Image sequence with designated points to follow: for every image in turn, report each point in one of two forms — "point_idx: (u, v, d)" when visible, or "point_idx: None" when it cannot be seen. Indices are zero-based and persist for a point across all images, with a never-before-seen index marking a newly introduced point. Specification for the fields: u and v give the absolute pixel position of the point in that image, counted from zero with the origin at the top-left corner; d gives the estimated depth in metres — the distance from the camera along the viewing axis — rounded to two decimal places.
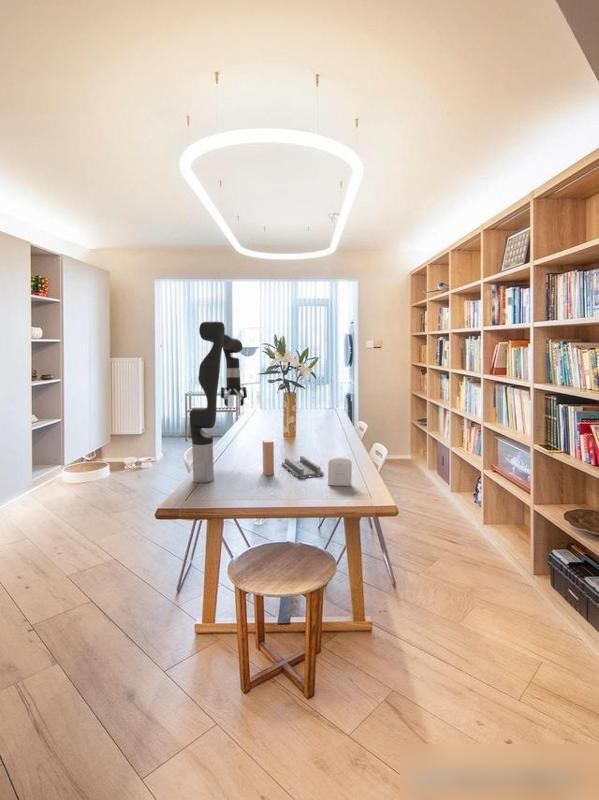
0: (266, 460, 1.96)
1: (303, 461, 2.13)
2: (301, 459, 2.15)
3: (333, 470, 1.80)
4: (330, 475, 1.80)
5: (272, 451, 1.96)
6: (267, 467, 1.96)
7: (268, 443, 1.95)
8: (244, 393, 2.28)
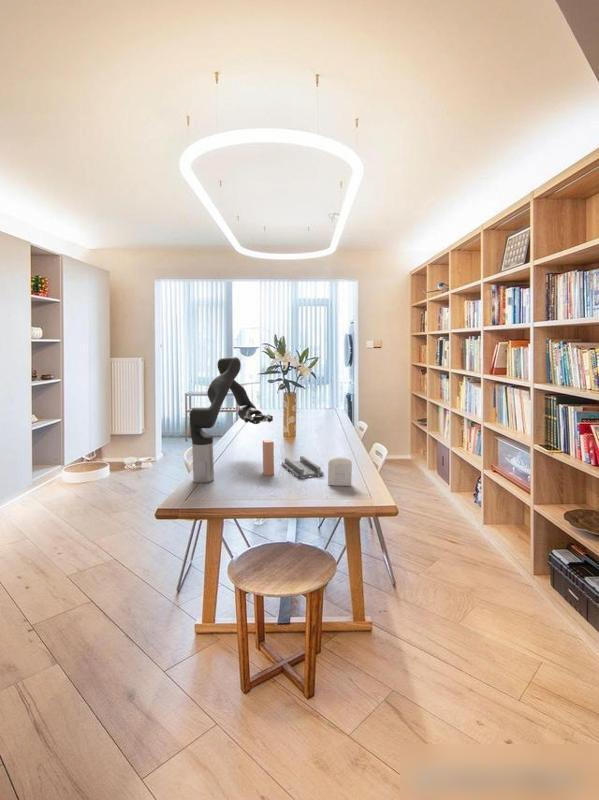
0: (266, 460, 1.96)
1: (303, 461, 2.13)
2: (301, 459, 2.15)
3: (333, 470, 1.80)
4: (330, 475, 1.80)
5: (272, 451, 1.96)
6: (267, 467, 1.96)
7: (268, 443, 1.95)
8: (270, 415, 2.16)
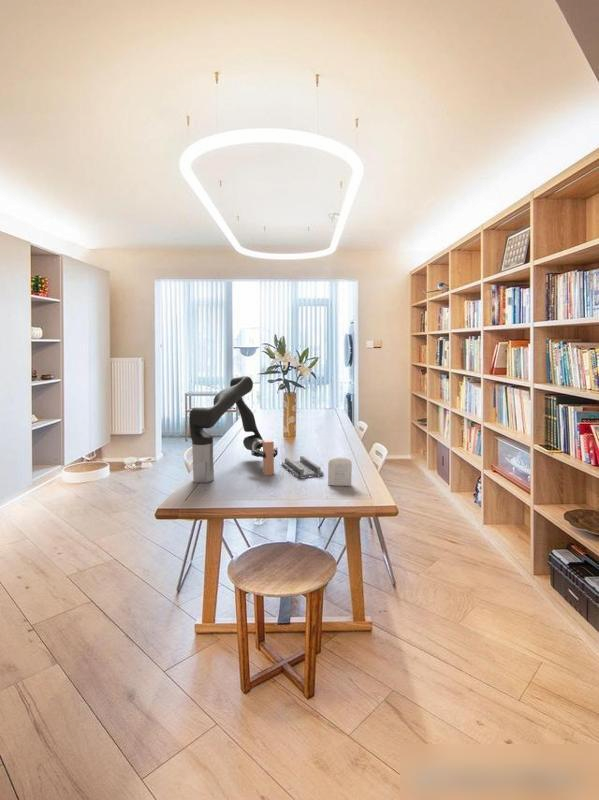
0: (266, 460, 1.96)
1: (303, 461, 2.13)
2: (301, 459, 2.15)
3: (333, 470, 1.80)
4: (330, 475, 1.80)
5: (272, 451, 1.96)
6: (267, 467, 1.96)
7: (268, 443, 1.95)
8: (276, 449, 2.04)
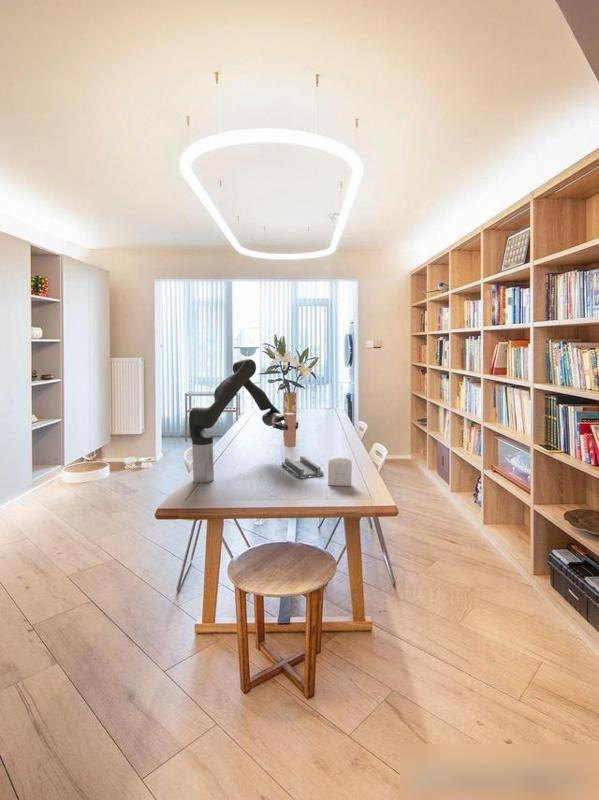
0: (288, 432, 1.99)
1: (303, 461, 2.13)
2: (301, 459, 2.15)
3: (333, 470, 1.80)
4: (330, 475, 1.80)
5: (294, 424, 1.99)
6: (289, 439, 1.99)
7: (290, 415, 1.98)
8: (297, 422, 2.07)
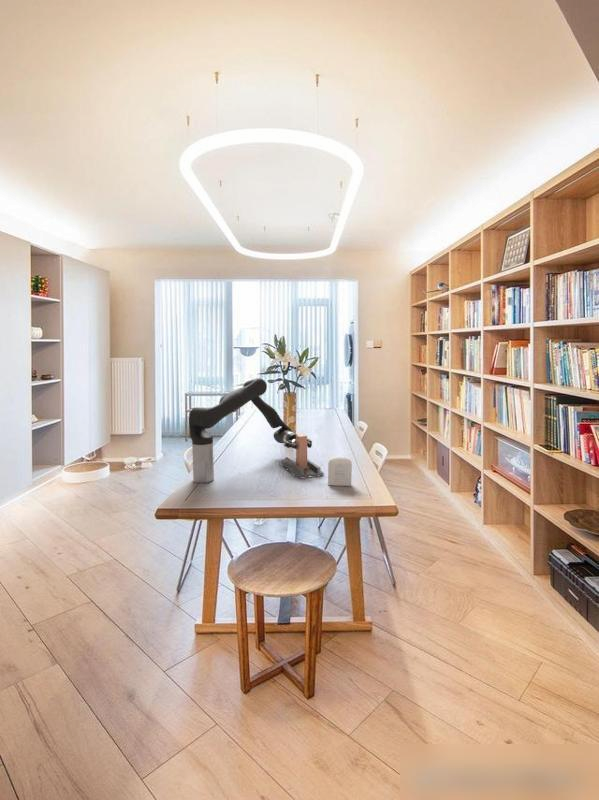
0: (300, 454, 2.01)
1: None
2: None
3: (333, 470, 1.80)
4: (330, 475, 1.80)
5: (306, 445, 2.02)
6: (301, 461, 2.02)
7: (302, 437, 2.01)
8: (309, 440, 2.10)
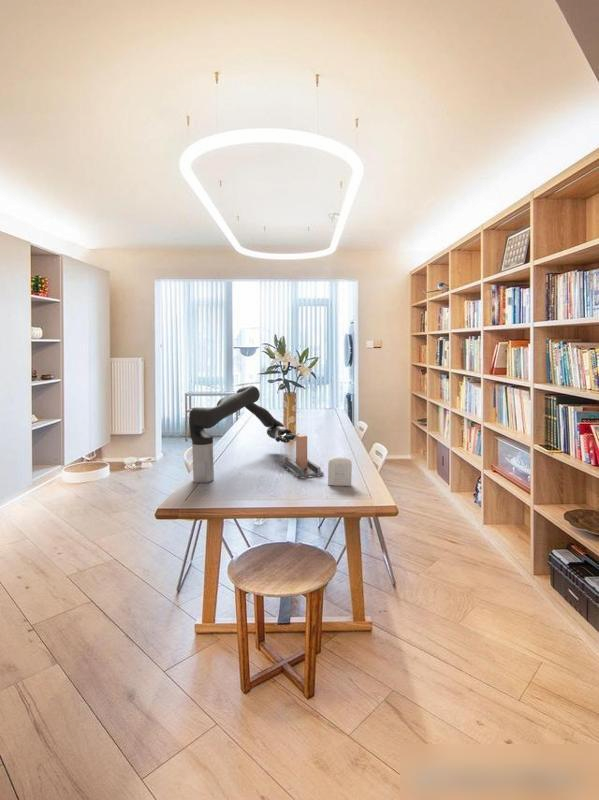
0: (300, 454, 2.01)
1: None
2: None
3: (333, 470, 1.80)
4: (330, 475, 1.80)
5: (306, 445, 2.02)
6: (301, 461, 2.02)
7: (302, 437, 2.01)
8: None
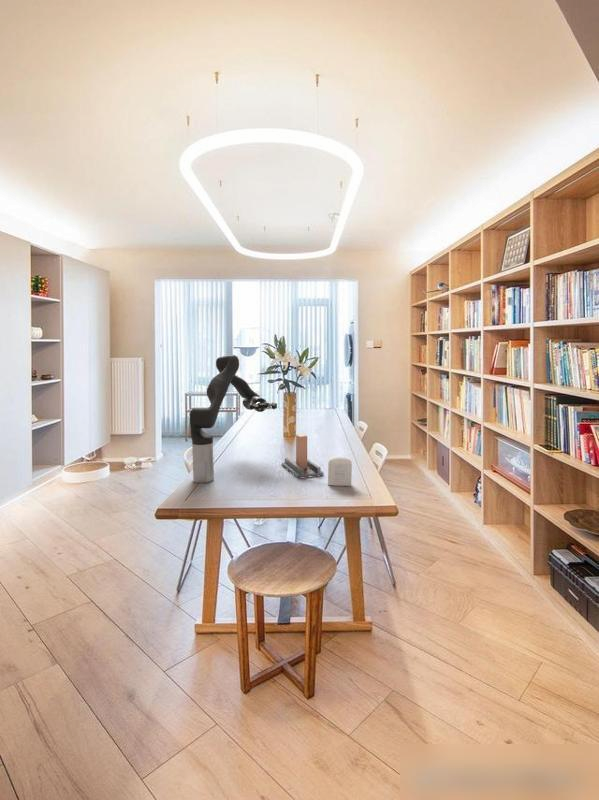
0: (300, 454, 2.01)
1: None
2: None
3: (333, 470, 1.80)
4: (330, 475, 1.80)
5: (306, 445, 2.02)
6: (301, 461, 2.02)
7: (302, 437, 2.01)
8: (274, 403, 2.19)
